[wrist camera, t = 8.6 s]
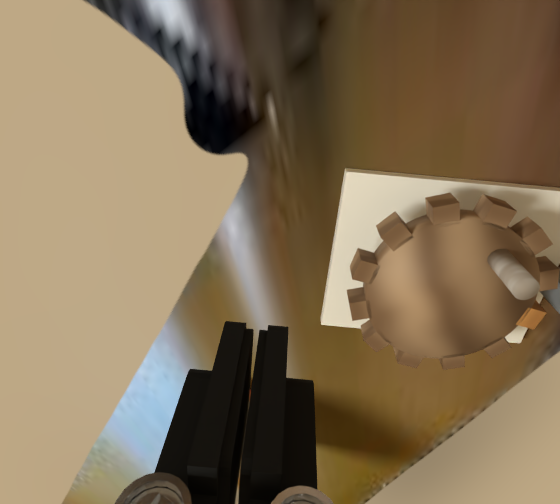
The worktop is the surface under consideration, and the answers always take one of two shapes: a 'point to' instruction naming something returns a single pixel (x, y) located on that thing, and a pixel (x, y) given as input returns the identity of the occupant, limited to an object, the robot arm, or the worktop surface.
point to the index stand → (411, 204)
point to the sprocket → (451, 281)
